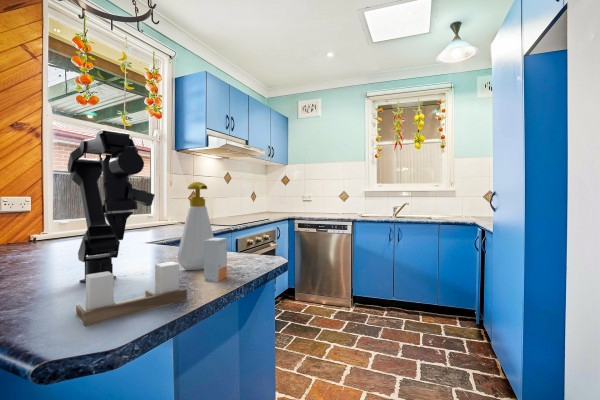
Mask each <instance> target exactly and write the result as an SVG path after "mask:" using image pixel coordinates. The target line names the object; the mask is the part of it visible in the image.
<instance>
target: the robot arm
mask: <svg viewBox="0 0 600 400" xmlns="http://www.w3.org/2000/svg"><path fill="white" fill-rule="evenodd" d="M130 136H131V135H130V133H128V132H123V131H114V130H109V129H103V128H102V129H100V130H99V131H97V133H96V135H95V137H93V138H88V139H82V140H81V141H80V144H79V146H78V147H77V148H76V149H74V150H73V151H71V152H70V154H69V156H68V157H69V158H68V160H67V161H68V162H67V172H68V173H70V177H71V180H72V181H73V182H74V183H75V184H77V186H78V187H79V189H80V194H81V199H82V200H81V201H82V205H83V206H82V207H83V210H84V216H85V222H86V227H87V229H86V231H85V233H84V234H83V237H82V240H81V242H80V246H79V249H78V252H77V256H78V257H77V258H78V261H80V262H82V263H84V278H83V279H80V280H79V283H85V284H86V275H88V274H94V273H101V272H107V271H109V272H110V273H112V274H113V271H114V270H113V265H114V264H113V262H112V261H113V260H112V259H115V258H118V256H119V251H120V244H121V241H123V240H124V236H125V230H126V226H127V225H126V224H127V220H128V218H130V216H131V215H132V214H134V211H136V210H138V204H142V205H143V206H146V207H150V206H152V205H153V202H154V199H155V194H154V193H152V192H147V190H143V189H138V188H134V187H133V183H131V181H130V176H134V175H137V174H139V173H141V172H142V171H143V169H144V166H145V161H144V160H143V157H142V156H141V155H140V153H139V150H138V148H137V146H136V144H135V143H134V140H133V138H132V137H130ZM85 154H88V155H89V154H90V155H91V154H92V155H98V157H99V159H94V158H84V157H83V156H85ZM103 154H104V155H105V156H104V157H103ZM101 176H102V181H103V183H102V189H103V196H104V198H103V199H104V200H103V201H102V197H101V193H100V187H99V183H98V182H99V180H100V179H101ZM132 210H133V211H132ZM113 275H114V274H113ZM114 279H117V275H114Z"/></svg>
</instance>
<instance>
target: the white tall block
mask: <svg viewBox="0 0 600 400" xmlns="http://www.w3.org/2000/svg"><path fill="white" fill-rule="evenodd" d="M114 276H115V275H114V274H112V273H110V272H109V271H107V272H101V273H94V274H88V275H86V283H85V309H86V311H87V310H91V309H96V308H100V307H105V306H109V305H114V302H115V298H114V297H115V291H114V290H115V289H114V288H115V287H114V282H115V278H114Z"/></svg>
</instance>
